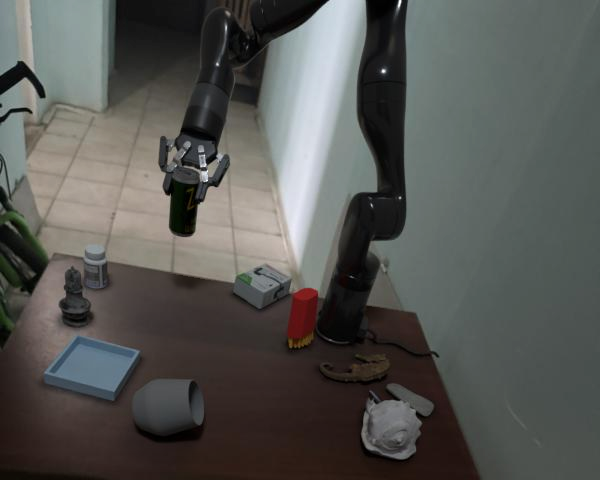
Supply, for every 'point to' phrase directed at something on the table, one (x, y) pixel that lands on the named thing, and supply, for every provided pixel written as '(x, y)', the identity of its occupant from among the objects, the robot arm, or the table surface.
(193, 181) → the beer can
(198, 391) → the cup
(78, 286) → the grey chess piece
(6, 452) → the table surface
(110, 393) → the tray
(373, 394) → the pen
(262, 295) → the ink box
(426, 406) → the decorative stone
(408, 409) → the seashell
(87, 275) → the pill bottle
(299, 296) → the french fries
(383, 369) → the seahorse
